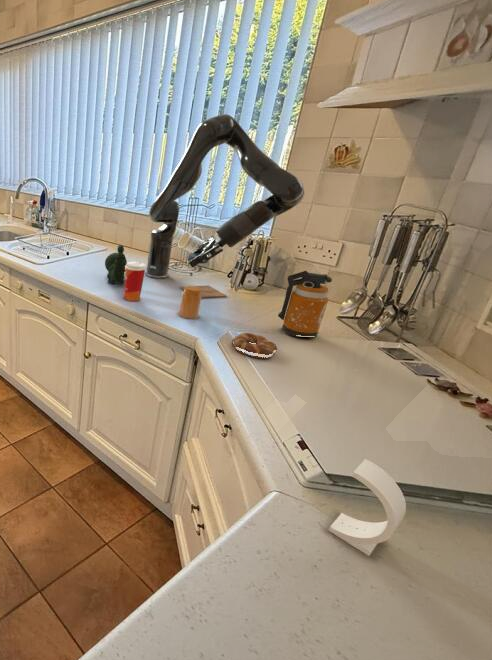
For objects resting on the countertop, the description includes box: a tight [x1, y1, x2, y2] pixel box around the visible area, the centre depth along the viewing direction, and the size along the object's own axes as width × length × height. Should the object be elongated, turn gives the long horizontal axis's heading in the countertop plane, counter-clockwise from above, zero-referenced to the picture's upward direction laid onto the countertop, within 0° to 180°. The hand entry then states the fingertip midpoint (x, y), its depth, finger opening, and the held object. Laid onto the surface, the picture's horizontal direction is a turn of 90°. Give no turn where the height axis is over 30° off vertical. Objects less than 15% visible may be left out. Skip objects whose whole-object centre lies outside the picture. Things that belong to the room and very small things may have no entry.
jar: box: [178, 285, 202, 320], centre depth 136 cm, size 6×6×10 cm
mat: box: [180, 285, 227, 299], centre depth 158 cm, size 12×12×1 cm
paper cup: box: [123, 261, 147, 302], centre depth 151 cm, size 8×8×14 cm
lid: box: [187, 252, 209, 265], centre depth 132 cm, size 6×6×2 cm
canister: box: [277, 270, 333, 339], centre depth 120 cm, size 9×11×20 cm
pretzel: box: [231, 332, 278, 360], centre depth 114 cm, size 12×11×4 cm
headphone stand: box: [328, 458, 407, 557], centre depth 58 cm, size 5×6×12 cm
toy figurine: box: [104, 244, 128, 286], centre depth 171 cm, size 9×19×25 cm
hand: (189, 262), depth 133 cm, fingers closed on lid, 6 cm apart
